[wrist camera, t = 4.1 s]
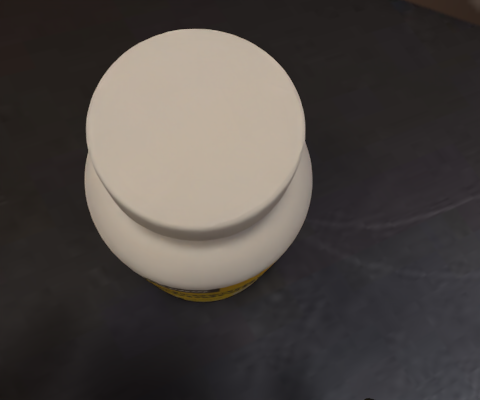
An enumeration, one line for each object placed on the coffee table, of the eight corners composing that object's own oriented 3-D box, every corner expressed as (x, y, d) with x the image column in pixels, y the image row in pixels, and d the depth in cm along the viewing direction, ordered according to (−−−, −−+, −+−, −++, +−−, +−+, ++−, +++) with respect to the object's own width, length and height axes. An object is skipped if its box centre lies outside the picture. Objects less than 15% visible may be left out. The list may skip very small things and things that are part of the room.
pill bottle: (117, 287, 20) (-11, 240, 9) (153, 152, 21) (87, -33, 10) (262, 316, 20) (324, 308, 9) (286, 179, 21) (364, 24, 10)
